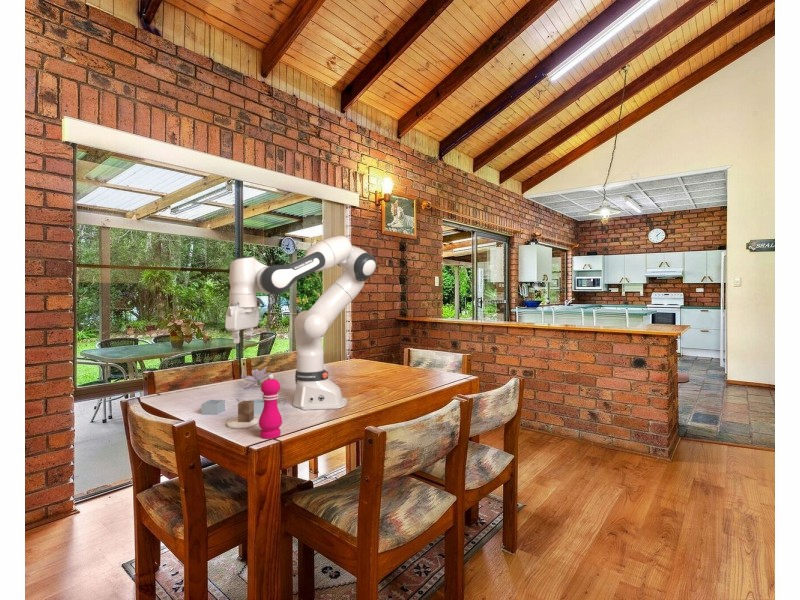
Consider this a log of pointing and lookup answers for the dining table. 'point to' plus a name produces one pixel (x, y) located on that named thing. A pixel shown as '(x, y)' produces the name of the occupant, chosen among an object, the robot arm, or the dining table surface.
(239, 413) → the walnut block
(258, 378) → the water lily
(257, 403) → the sleeve
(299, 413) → the dining table surface
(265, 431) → the pepper mill
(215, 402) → the sleeve
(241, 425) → the plate
